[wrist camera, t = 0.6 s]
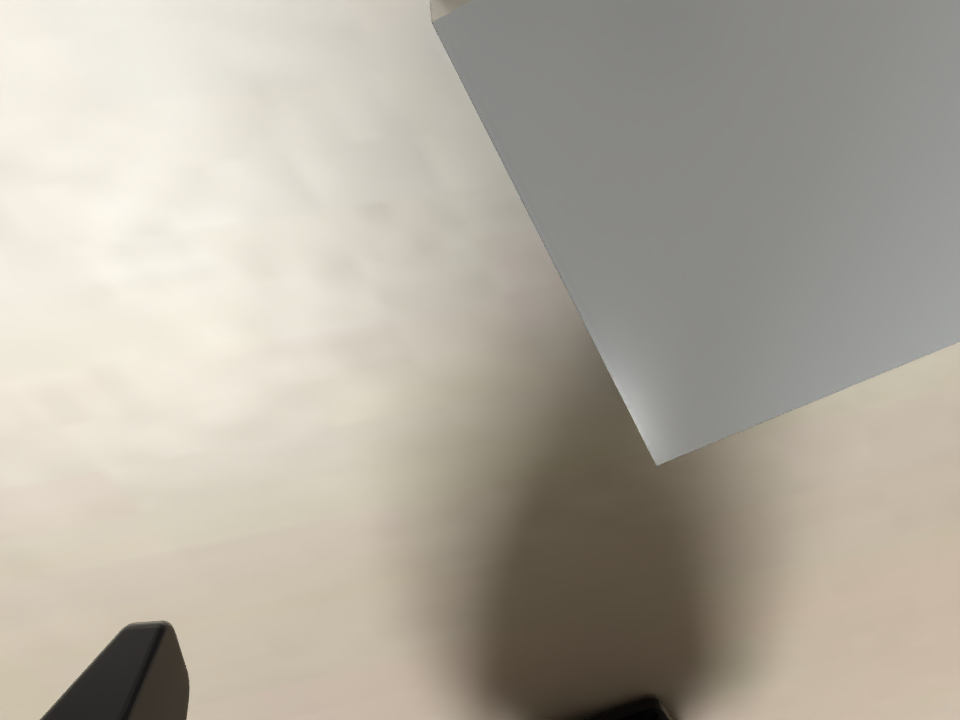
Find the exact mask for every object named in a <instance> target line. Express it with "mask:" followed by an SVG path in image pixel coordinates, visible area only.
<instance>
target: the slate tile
mask: <svg viewBox="0 0 960 720" xmlns="http://www.w3.org/2000/svg"><path fill="white" fill-rule="evenodd" d="M430 9H431V20H432V24H433V26H434V28H435V30H436V32H437V34H438V36H439V38H440V40H441V42H442V44H443V46H444V48H445V50H446V52H447V54H448V56H449V57H450V59H451V61H452V63H453V65H454V67H455V69H456V71H457V73H458V75H459V77H460V79H461V81H462V83H463V85H464V87H465V89H466V91H467V93H468V95H469V97H470V99H471V101H472V103H473V105H474V107H475V109H476V111H477V113H478V115H479V117H480V119H481V121H482V123H483V125H484V127H485V129H486V131H487V133H488V134H489V136H490V138H491V140H492V142H493V144H494V146H495V148H496V150H497V152H498V154H499V156H500V158H501V160H502V162H503V164H504V166H505V168H506V170H507V172H508V174H509V176H510V178H511V180H512V182H513V184H514V186H515V188H516V190H517V192H518V194H519V196H520V198H521V200H522V202H523V204H524V206H525V208H526V210H527V211H528V213H529V215H530V217H531V219H532V221H533V223H534V225H535V227H536V229H537V231H538V233H539V235H540V237H541V239H542V241H543V243H544V245H545V247H546V249H547V251H548V253H549V255H550V257H551V259H552V261H553V263H554V265H555V267H556V269H557V271H558V273H559V275H560V277H561V279H562V281H563V283H564V285H565V287H566V289H567V290H568V292H569V294H570V296H571V298H572V300H573V302H574V304H575V306H576V308H577V310H578V312H579V314H580V316H581V318H582V320H583V322H584V324H585V326H586V328H587V330H588V332H589V334H590V336H591V338H592V340H593V342H594V344H595V346H596V348H597V350H598V352H599V354H600V356H601V358H602V360H603V362H604V364H605V366H606V367H607V369H608V371H609V373H610V375H611V377H612V379H613V381H614V383H615V385H616V387H617V389H618V391H619V393H620V395H621V397H622V399H623V401H624V403H625V405H626V407H627V409H628V411H629V413H630V415H631V417H632V419H633V421H634V423H635V425H636V427H637V429H638V431H639V433H640V435H641V437H642V439H643V441H644V443H645V444H646V446H647V448H648V450H649V452H650V454H651V456H652V458H653V460H654V462H655V464H656V466H658V465H660V464H662V463H665V462H667V461H670V460H672V459H675V458H677V457H679V456H682V455H684V454H687V453H689V452H692V451H694V450H697V449H699V448H701V447H704V446H706V445H709V444H711V443H714V442H716V441H719V440H721V439H723V438H726V437H728V436H731V435H733V434H736V433H738V432H740V431H743V430H745V429H748V428H750V427H753V426H755V425H758V424H760V423H762V422H765V421H767V420H770V419H772V418H775V417H777V416H780V415H782V414H784V413H787V412H789V411H792V410H794V409H797V408H799V407H801V406H804V405H806V404H809V403H811V402H814V401H816V400H819V399H821V398H823V397H826V396H828V395H831V394H833V393H836V392H838V391H840V390H843V389H845V388H848V387H850V386H853V385H855V384H858V383H860V382H862V381H865V380H867V379H870V378H872V377H875V376H877V375H880V374H882V373H884V372H887V371H889V370H892V369H894V368H897V367H899V366H901V365H904V364H906V363H909V362H911V361H914V360H916V359H919V358H921V357H923V356H926V355H928V354H931V353H933V352H936V351H938V350H941V349H943V348H945V347H948V346H950V345H953V344H955V343H958V342H960V0H430Z"/></svg>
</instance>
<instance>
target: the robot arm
mask: <svg viewBox="0 0 960 720" xmlns="http://www.w3.org/2000/svg"><path fill="white" fill-rule="evenodd" d="M188 702H189V677H188V672H187V669H186V665H185V662H184V659H183V656H182V652H181V649H180V646H179V643H178V640H177V636H176V633H175V630H174V628H173V626H172V625H171V624H170V623H169V622H167V621H151V622H137V623H131V624H129V625H127V626H126V627H124V628H123V629H122V630H121V631H120V632H119V633H118V634H117V635H116V636H115V637H114V639H113V640H112V641H111V642H110V643H109V644H108V645H107V646H106V647H105V649H104V650H103V651H102V652H101V653H100V654H99V655H98V656H97V657H96V658H95V660H94V661H93V662H92V663H91V664H90V665H89V666H88V667H87V668H86V670H85V671H84V672H83V673H82V674H81V675H80V676H79V677H78V678H77V679H76V681H75V682H74V683H73V684H72V685H71V686H70V687H69V688H68V689H67V690H66V692H65V693H64V694H63V695H62V696H61V697H60V698H59V699H58V700H57V702H56V703H55V704H54V705H53V706H52V707H51V708H50V709H49V710H48V711H47V713H46V714H45V715H44V716H43V717H42V718H41V719H40V720H186V718H187V710H188ZM586 720H672V718H671V717H670V715H669V713H668V712H667V710H666V709H665V707H664V706H663V704H662V702H661V701H660V700H659V699H656V698H645V699H642V700H639V701H636V702H633V703H631V704H628V705H625V706H622V707H619V708H617V709H614V710H611V711H608V712H606V713H603V714H600V715H597V716H594V717H592V718H589V719H586Z"/></svg>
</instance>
